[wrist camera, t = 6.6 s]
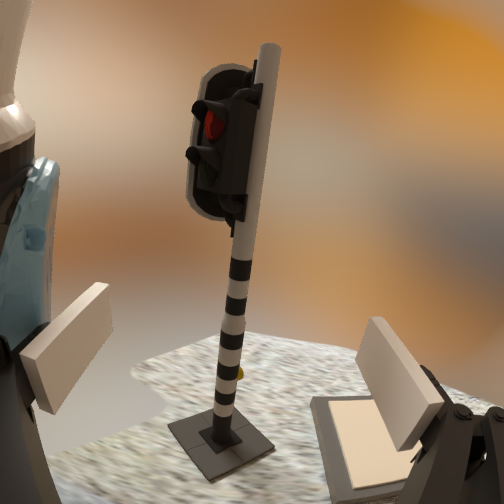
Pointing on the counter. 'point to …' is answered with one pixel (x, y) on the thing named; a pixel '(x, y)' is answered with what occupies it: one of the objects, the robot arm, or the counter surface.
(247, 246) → the miniature traffic light
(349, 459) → the plate
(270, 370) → the counter surface
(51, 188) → the robot arm
